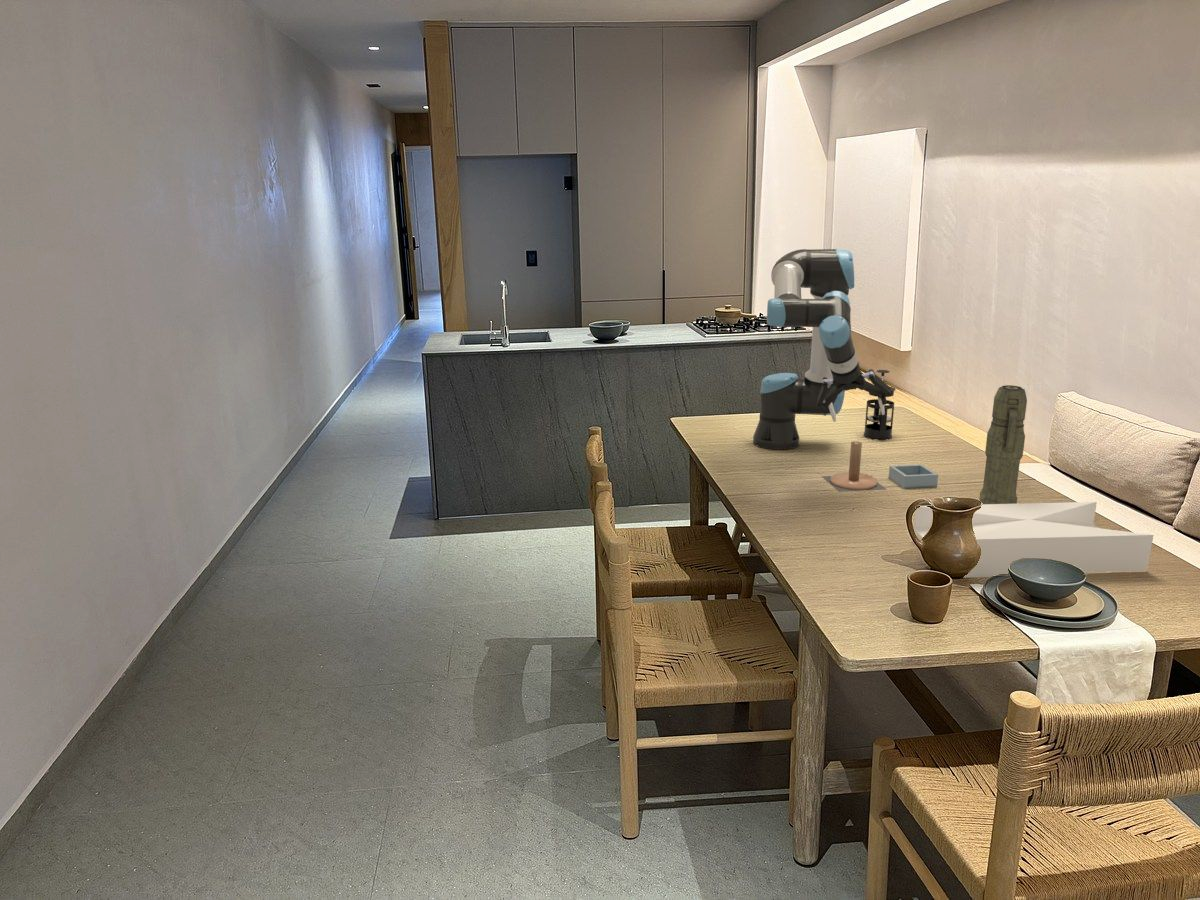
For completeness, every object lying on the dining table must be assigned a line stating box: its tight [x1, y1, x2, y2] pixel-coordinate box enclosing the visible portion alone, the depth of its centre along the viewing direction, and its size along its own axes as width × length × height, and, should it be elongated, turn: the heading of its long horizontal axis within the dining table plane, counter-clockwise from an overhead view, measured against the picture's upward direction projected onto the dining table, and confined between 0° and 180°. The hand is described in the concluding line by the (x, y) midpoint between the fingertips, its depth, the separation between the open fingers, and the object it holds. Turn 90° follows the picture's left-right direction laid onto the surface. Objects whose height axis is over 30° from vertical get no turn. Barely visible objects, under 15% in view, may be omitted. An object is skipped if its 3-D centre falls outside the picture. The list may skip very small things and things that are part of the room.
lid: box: [830, 440, 878, 491], centre depth 265 cm, size 13×13×12 cm
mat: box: [821, 473, 887, 493], centre depth 267 cm, size 14×14×1 cm
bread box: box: [913, 501, 1155, 579], centre depth 215 cm, size 45×22×10 cm, turn 93°
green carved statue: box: [978, 384, 1028, 504], centre depth 234 cm, size 9×12×35 cm
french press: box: [863, 369, 896, 441], centre depth 312 cm, size 12×9×23 cm
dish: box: [888, 464, 939, 490], centre depth 267 cm, size 10×10×4 cm
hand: (858, 414), depth 264 cm, fingers open, 13 cm apart
